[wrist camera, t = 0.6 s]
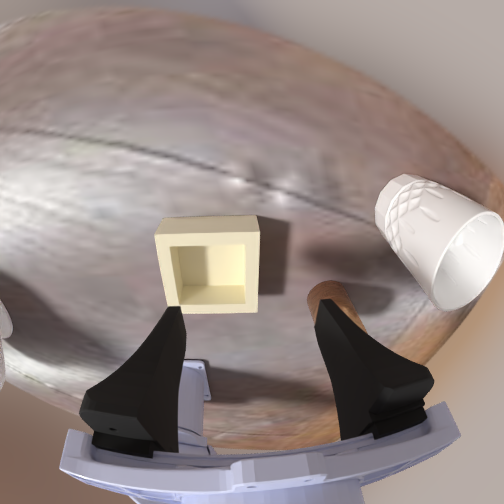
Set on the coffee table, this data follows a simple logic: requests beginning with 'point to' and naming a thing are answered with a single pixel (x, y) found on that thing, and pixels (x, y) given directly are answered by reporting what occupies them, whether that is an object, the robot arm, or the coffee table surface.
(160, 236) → the cream square tray
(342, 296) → the brown cylinder
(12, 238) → the coffee table surface
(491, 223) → the white cup
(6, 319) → the decorative vase
